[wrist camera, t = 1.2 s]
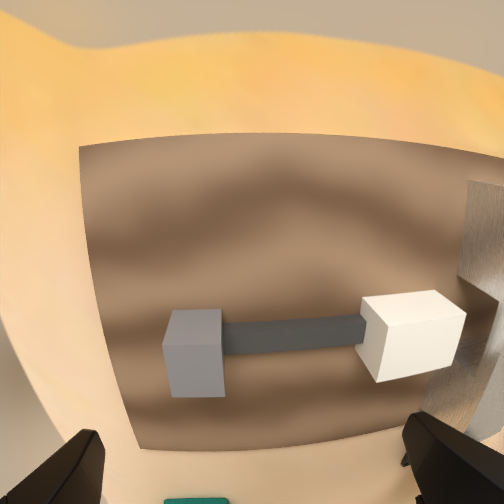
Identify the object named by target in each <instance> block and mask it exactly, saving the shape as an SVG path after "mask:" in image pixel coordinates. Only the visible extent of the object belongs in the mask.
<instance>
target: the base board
mask: <svg viewBox="0 0 504 504" xmlns="http://www.w3.org/2000/svg"><path fill="white" fill-rule="evenodd" d="M79 163H80V181H81V194H82V205H83V215H84V224H85V233H86V240H87V248H88V254H89V261H90V267H91V273H92V279H93V284H94V290H95V295H96V300H97V305H98V310H99V314H100V319H101V323H102V328H103V332H104V336H105V340H106V344H107V348H108V352H109V355H110V359H111V363H112V366H113V370H114V373H115V377H116V380H117V384H118V387H119V390H120V393H121V396H122V399H123V403H124V406H125V409H126V411H127V414H128V417H129V420H130V423H131V426H132V429H133V431H134V434H135V437H136V439H137V442H138V444H139V447H140V449H150V450H167V451H238V450H256V449H269V448H279V447H289V446H297V445H305V444H312V443H319V442H325V441H331V440H337V439H343V438H348V437H353V436H358V435H363V434H367V433H372V432H376V431H380V430H384V429H388V428H392V427H396V426H400V425H404V424H406V422H407V420H408V417H409V415H410V414H411V413H414V412H417V411H422V410H421V409H420V404H421V402H422V399H423V396H424V394H425V391H426V388H427V385H428V382H429V379H430V376H431V373H432V371H428V372H424V373H420V374H416V375H411V376H407V377H402V378H398V379H393V380H388V381H383V382H378V383H376V382H375V380H374V378H373V377H372V375H371V374H370V372H369V370H368V369H367V367H366V366H365V364H364V362H363V361H362V359H361V358H360V356H359V355H358V353H357V351H356V350H355V344H354V345H346V346H337V347H328V348H319V349H309V350H298V351H286V352H272V353H256V354H237V355H224V356H225V397H172V395H171V390H170V385H169V380H168V375H167V370H166V364H165V359H164V353H163V348H162V344H163V340H164V337H165V334H166V330H167V327H168V324H169V320H170V317H171V314H172V311H173V310H198V309H222V323H238V322H259V321H276V320H292V319H305V318H318V317H330V316H341V315H351V314H360V310H361V303H362V297H370V296H380V295H391V294H400V293H410V292H419V291H428V290H436V291H437V292H438V293H440V294H441V295H443V296H444V297H445V298H447V299H448V300H449V301H451V302H452V303H453V304H455V305H456V306H457V307H459V308H460V309H461V310H463V311H464V312H465V313H467V314H466V318H465V322H464V325H463V329H462V333H461V336H460V339H459V340H461V339H465V338H469V337H473V336H477V335H480V334H484V333H489V334H490V332H491V329H492V326H493V323H494V319H495V316H496V312H497V309H498V305H499V301H498V300H496V299H495V298H493V297H492V296H490V295H489V294H487V293H485V292H484V291H482V290H481V289H479V288H477V287H476V286H474V285H473V284H471V283H469V282H468V281H466V280H465V279H463V278H461V277H460V276H458V275H457V270H458V264H459V258H460V252H461V245H462V238H463V230H464V221H465V211H466V200H467V185H468V180H476V181H483V182H491V183H498V184H504V159H503V158H499V157H494V156H489V155H485V154H480V153H475V152H469V151H464V150H458V149H453V148H447V147H440V146H434V145H427V144H420V143H413V142H405V141H396V140H387V139H378V138H367V137H355V136H341V135H324V134H300V133H222V134H198V135H181V136H167V137H155V138H144V139H134V140H125V141H117V142H109V143H101V144H94V145H87V146H81V147H79Z"/></svg>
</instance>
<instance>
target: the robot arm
mask: <svg viewBox="0 0 504 504" xmlns="http://www.w3.org/2000/svg"><path fill="white" fill-rule="evenodd" d="M402 437H403V441H404V444H405V447H406V451H407V453H406V455H405V457H404V459H403V461H402V463H401V464H402V466H403V467H405V466H408V465H411V468H412V471H413V474H414V477H415V479H416V482H417V484H418V487H419V489H420V492H421V495H418V496H417V497H415V499H416V504H504V455H503V454H501V453H499V452H497V451H495V450H493V449H491V448H489V447H487V446H486V445H484V444H482V443H480V442H478V441H476V440H475V439H473V438H471V437H469V436H467V435H465V434H464V433H462V432H460V431H458V430H456V429H455V428H453V427H451V426H449V425H448V424H446V423H444V422H442V421H441V420H439V419H437V418H435V417H434V416H432V415H430V414H428V413H427V412H425V411H417V412H414V413H411V414H410V415H409V417H408V420H407V422H406V424H405V426H404V429H403V432H402ZM104 462H105V448H104V446H103V443H102V441H101V439H100V437H99V434H98V432H97V431H95V430H90V429H82V430H81V431H79V432H78V433H77V434H76V435H75V436H74V437H73V438H71V439H70V440H69V441H68V442H67V443H66V444H64V445H63V446H62V447H61V448H60V449H59V450H58V451H56V452H55V453H54V454H53V455H52V456H51V457H49V458H48V459H47V460H46V461H45V462H44V463H43V464H41V465H40V466H39V467H38V468H37V469H35V470H34V471H33V472H32V473H31V474H30V475H28V476H27V477H26V478H25V479H24V480H23V481H21V482H20V483H19V484H18V485H17V486H15V487H14V488H13V489H12V490H11V491H9V492H8V493H7V495H6V496H3V497H2V498H1V499H0V504H100V499H101V492H102V481H103V471H104Z"/></svg>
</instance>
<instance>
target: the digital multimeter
mask: <svg viewBox="0 0 504 504" xmlns="http://www.w3.org/2000/svg"><path fill="white" fill-rule="evenodd" d="M164 504H229V502H228V500H227V499H226V498H185V499H166V500H164Z"/></svg>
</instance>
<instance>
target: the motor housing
mask: <svg viewBox="0 0 504 504" xmlns="http://www.w3.org/2000/svg"><path fill="white" fill-rule="evenodd" d="M457 275H458V276H460V277H461V278H463V279H465V280H466V281H468V282H469V283H471V284H473V285H474V286H476V287H477V288H479V289H481V290H482V291H484V292H485V293H487V294H489V295H490V296H492V297H493V298H495V299H496V300H498V301H499V305H498V309H497V312H496V316H495V319H494V323H493V326H492V329H491V332H490V334H489V333H484V334H480V335H477V336H473V337H469V338H465V339H461V340H459V343H458V346H457V349H456V352H455V355H454V359H453V362H452V364H451V366H447V367H444V368H440V369H436V370H432V373H431V376H430V379H429V382H428V385H427V388H426V391H425V394H424V396H423V399H422V402H421V404H420V409H421V410H422V411H425V412H427V413H428V414H430V415H432V416H434V417H435V418H437V419H439V420H441V421H442V422H444V423H446V424H448V425H449V426H451V427H453V428H455V429H456V430H458V431H460V432H462V433H464V434H465V435H467V436H469V437H471V438H473V439H475V440H476V441H478V442H480V441H482V440H484V439H486V438H488V437H490V436H492V435H494V434H496V433H498V432H500V430H501V429H502V427H503V425H504V184H498V183H491V182H483V181H476V180H468V185H467V200H466V211H465V221H464V230H463V238H462V245H461V252H460V258H459V264H458V270H457Z"/></svg>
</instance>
